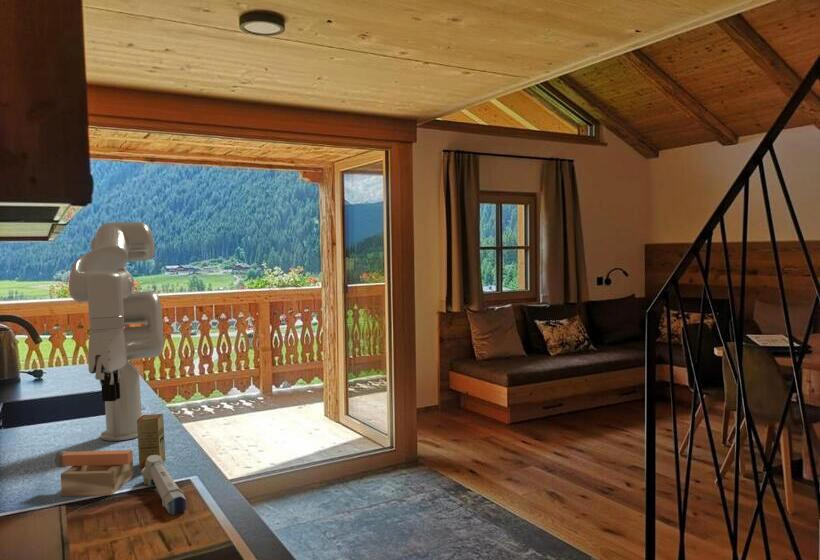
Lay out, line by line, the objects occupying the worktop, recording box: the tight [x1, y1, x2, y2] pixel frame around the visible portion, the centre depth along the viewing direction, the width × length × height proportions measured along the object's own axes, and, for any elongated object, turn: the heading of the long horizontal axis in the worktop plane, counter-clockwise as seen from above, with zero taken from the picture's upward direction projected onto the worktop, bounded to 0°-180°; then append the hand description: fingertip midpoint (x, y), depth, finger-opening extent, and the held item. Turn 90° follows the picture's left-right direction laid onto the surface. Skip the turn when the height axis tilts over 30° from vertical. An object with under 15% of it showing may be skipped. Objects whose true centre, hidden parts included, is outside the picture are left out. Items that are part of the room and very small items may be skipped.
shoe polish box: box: [137, 413, 166, 468], centre depth 157 cm, size 5×5×12 cm
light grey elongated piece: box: [141, 455, 188, 516], centre depth 137 cm, size 5×7×25 cm
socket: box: [60, 460, 135, 497], centre depth 143 cm, size 11×11×5 cm
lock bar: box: [54, 449, 134, 468], centre depth 143 cm, size 4×16×4 cm, turn 90°
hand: (111, 399), depth 150 cm, fingers closed
